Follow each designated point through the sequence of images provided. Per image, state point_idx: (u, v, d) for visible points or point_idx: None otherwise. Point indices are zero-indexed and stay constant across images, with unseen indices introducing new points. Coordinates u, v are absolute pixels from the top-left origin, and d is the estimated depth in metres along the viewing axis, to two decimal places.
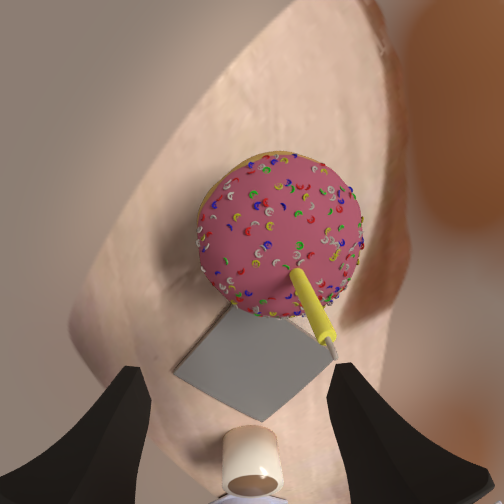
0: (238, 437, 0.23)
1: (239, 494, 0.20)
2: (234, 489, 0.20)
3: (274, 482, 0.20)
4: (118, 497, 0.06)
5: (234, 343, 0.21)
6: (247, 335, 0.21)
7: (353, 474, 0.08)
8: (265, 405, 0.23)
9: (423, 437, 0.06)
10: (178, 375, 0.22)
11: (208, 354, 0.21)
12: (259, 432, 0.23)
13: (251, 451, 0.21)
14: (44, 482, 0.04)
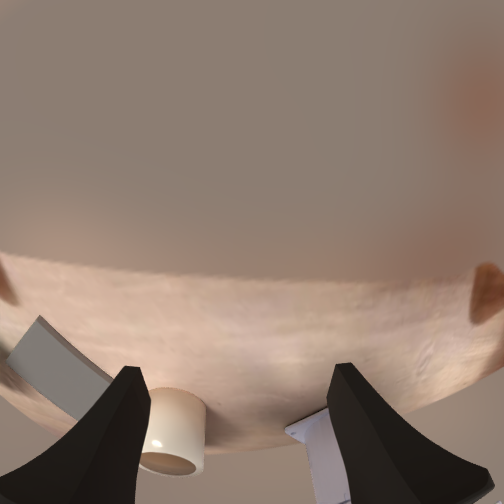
0: None
1: (188, 474, 0.17)
2: (172, 473, 0.17)
3: (158, 453, 0.16)
4: (118, 497, 0.06)
5: (40, 382, 0.20)
6: (32, 373, 0.19)
7: (353, 474, 0.08)
8: (100, 387, 0.19)
9: (423, 437, 0.06)
10: (78, 419, 0.22)
11: (54, 398, 0.20)
12: None
13: None
14: (44, 482, 0.04)
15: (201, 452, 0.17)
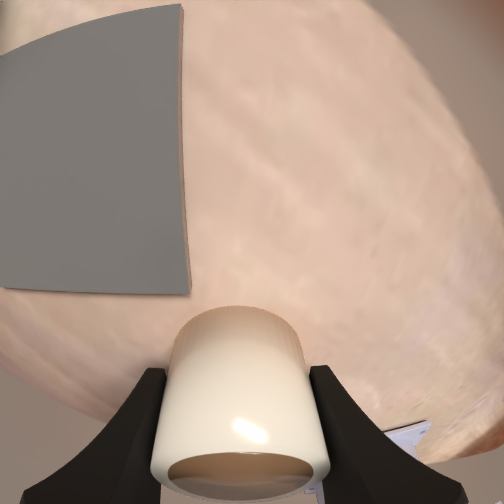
0: (172, 360, 0.10)
1: (245, 500, 0.08)
2: (214, 494, 0.07)
3: (279, 458, 0.06)
4: (146, 502, 0.06)
5: None
6: None
7: (326, 479, 0.07)
8: (146, 241, 0.09)
9: (395, 446, 0.06)
10: None
11: None
12: (208, 325, 0.10)
13: (179, 385, 0.08)
14: (75, 493, 0.04)
15: None
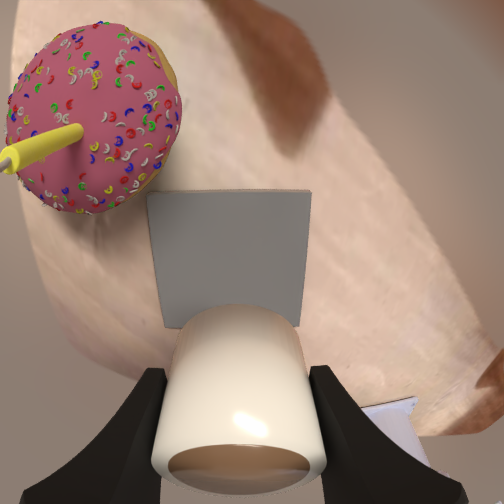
0: (173, 359, 0.10)
1: (248, 494, 0.08)
2: (216, 489, 0.08)
3: (272, 451, 0.06)
4: (146, 502, 0.06)
5: (183, 255, 0.17)
6: (187, 237, 0.17)
7: (327, 479, 0.07)
8: (283, 303, 0.19)
9: (395, 446, 0.06)
10: (170, 325, 0.19)
11: (173, 285, 0.18)
12: (205, 323, 0.10)
13: (177, 382, 0.08)
14: (75, 493, 0.04)
15: None
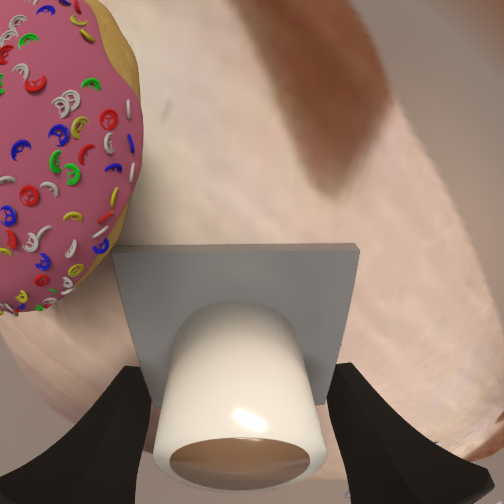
0: (172, 356, 0.11)
1: (249, 489, 0.08)
2: (217, 484, 0.08)
3: (272, 444, 0.07)
4: (118, 497, 0.06)
5: (172, 334, 0.12)
6: (176, 312, 0.11)
7: (353, 474, 0.08)
8: None
9: (423, 437, 0.06)
10: None
11: (161, 366, 0.13)
12: (204, 320, 0.10)
13: (177, 378, 0.08)
14: (44, 482, 0.04)
15: None
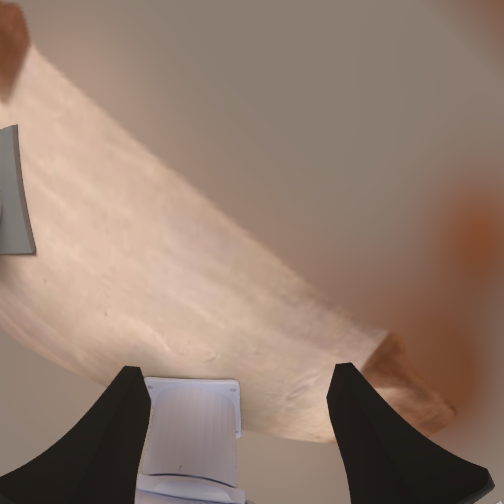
0: None
1: None
2: None
3: None
4: (118, 497, 0.06)
5: None
6: None
7: (353, 474, 0.08)
8: (14, 228, 0.16)
9: (423, 437, 0.06)
10: None
11: None
12: None
13: None
14: (44, 482, 0.04)
15: None
